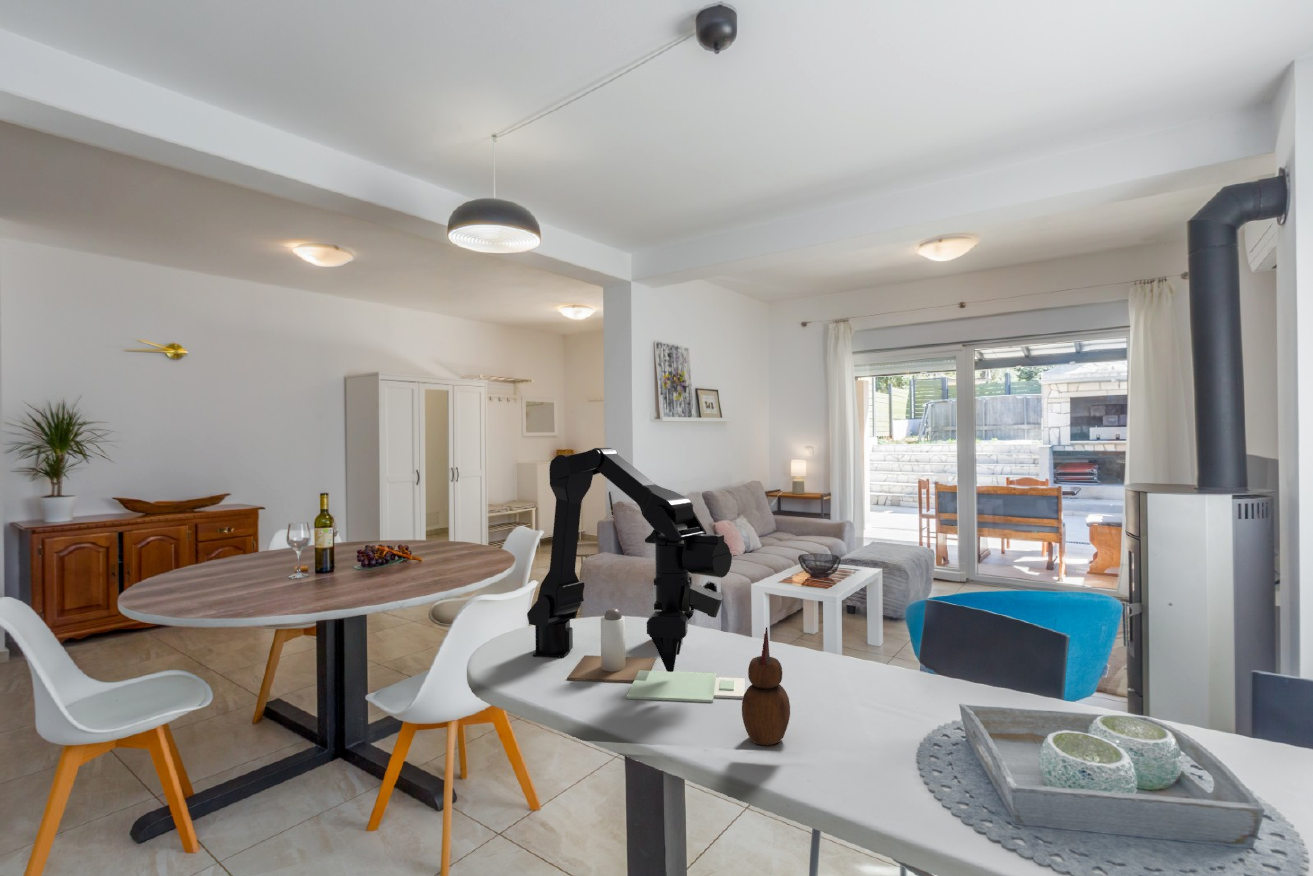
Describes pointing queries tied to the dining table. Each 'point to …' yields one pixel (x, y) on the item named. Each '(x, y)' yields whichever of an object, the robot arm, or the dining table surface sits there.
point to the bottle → (613, 641)
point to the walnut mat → (592, 671)
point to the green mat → (674, 686)
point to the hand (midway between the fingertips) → (673, 662)
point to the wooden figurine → (765, 700)
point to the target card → (729, 688)
